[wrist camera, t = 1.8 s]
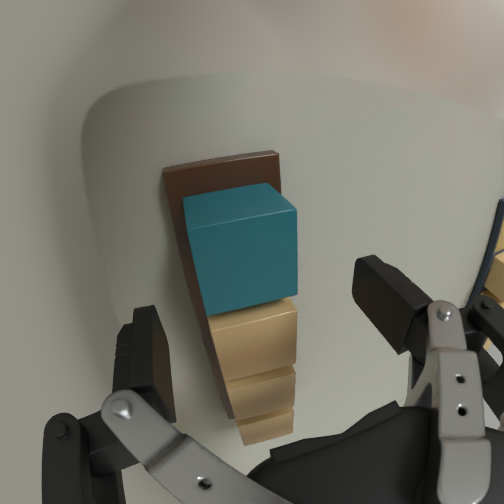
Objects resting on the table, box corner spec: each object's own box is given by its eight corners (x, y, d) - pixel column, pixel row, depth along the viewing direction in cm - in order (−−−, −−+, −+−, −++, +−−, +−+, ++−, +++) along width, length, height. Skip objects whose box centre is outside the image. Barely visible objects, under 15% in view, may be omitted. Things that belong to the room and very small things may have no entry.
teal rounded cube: (182, 197, 15) (186, 229, 11) (267, 182, 15) (297, 208, 12) (197, 271, 17) (206, 316, 13) (272, 255, 18) (297, 295, 14)
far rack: (499, 199, 23) (532, 218, 19) (518, 195, 24) (546, 211, 20) (446, 349, 36) (465, 370, 31) (468, 334, 37) (486, 353, 32)
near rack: (162, 167, 14) (159, 197, 10) (273, 149, 16) (313, 171, 11) (226, 412, 27) (238, 453, 22) (283, 397, 28) (299, 436, 24)
